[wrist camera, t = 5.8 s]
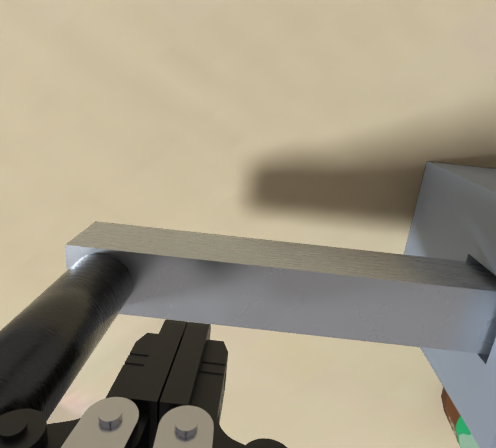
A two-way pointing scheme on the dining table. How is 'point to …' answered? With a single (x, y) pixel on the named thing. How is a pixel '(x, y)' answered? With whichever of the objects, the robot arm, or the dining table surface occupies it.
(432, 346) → the grey lever black handle
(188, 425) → the robot arm
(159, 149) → the dining table surface
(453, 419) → the food container
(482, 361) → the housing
